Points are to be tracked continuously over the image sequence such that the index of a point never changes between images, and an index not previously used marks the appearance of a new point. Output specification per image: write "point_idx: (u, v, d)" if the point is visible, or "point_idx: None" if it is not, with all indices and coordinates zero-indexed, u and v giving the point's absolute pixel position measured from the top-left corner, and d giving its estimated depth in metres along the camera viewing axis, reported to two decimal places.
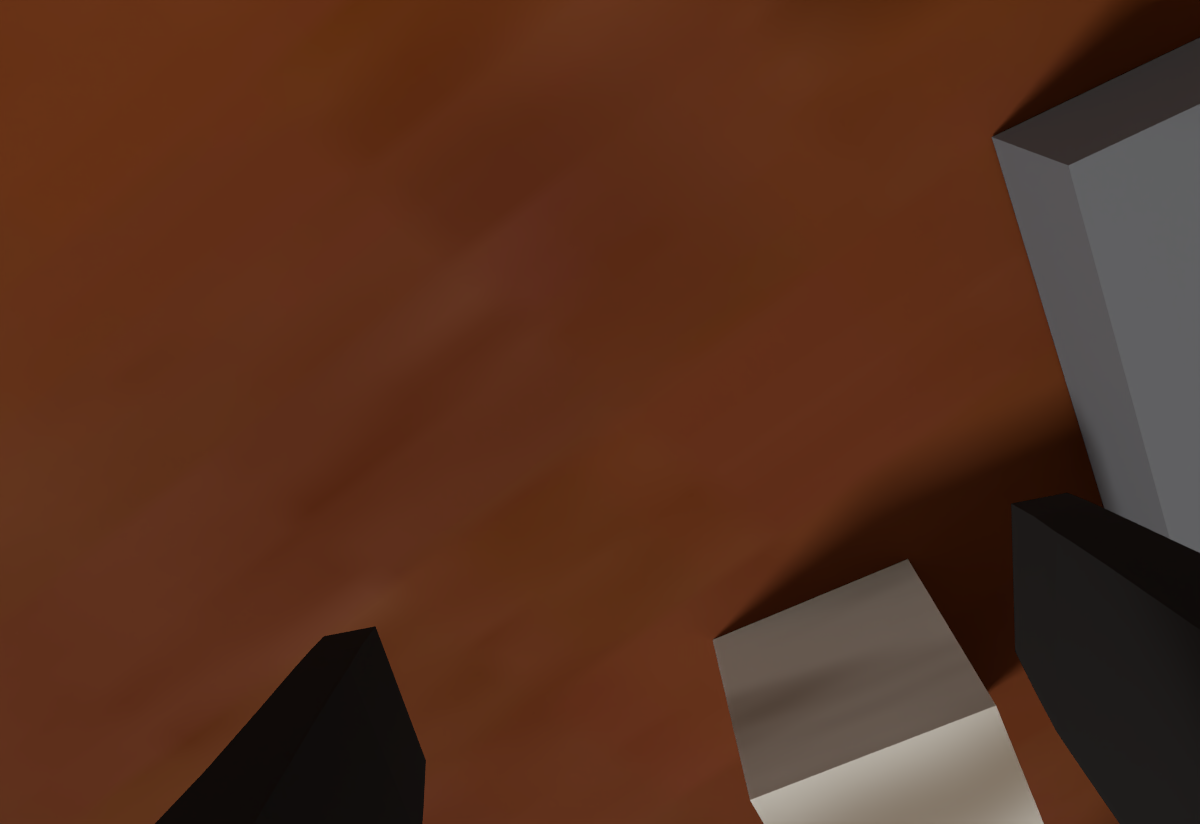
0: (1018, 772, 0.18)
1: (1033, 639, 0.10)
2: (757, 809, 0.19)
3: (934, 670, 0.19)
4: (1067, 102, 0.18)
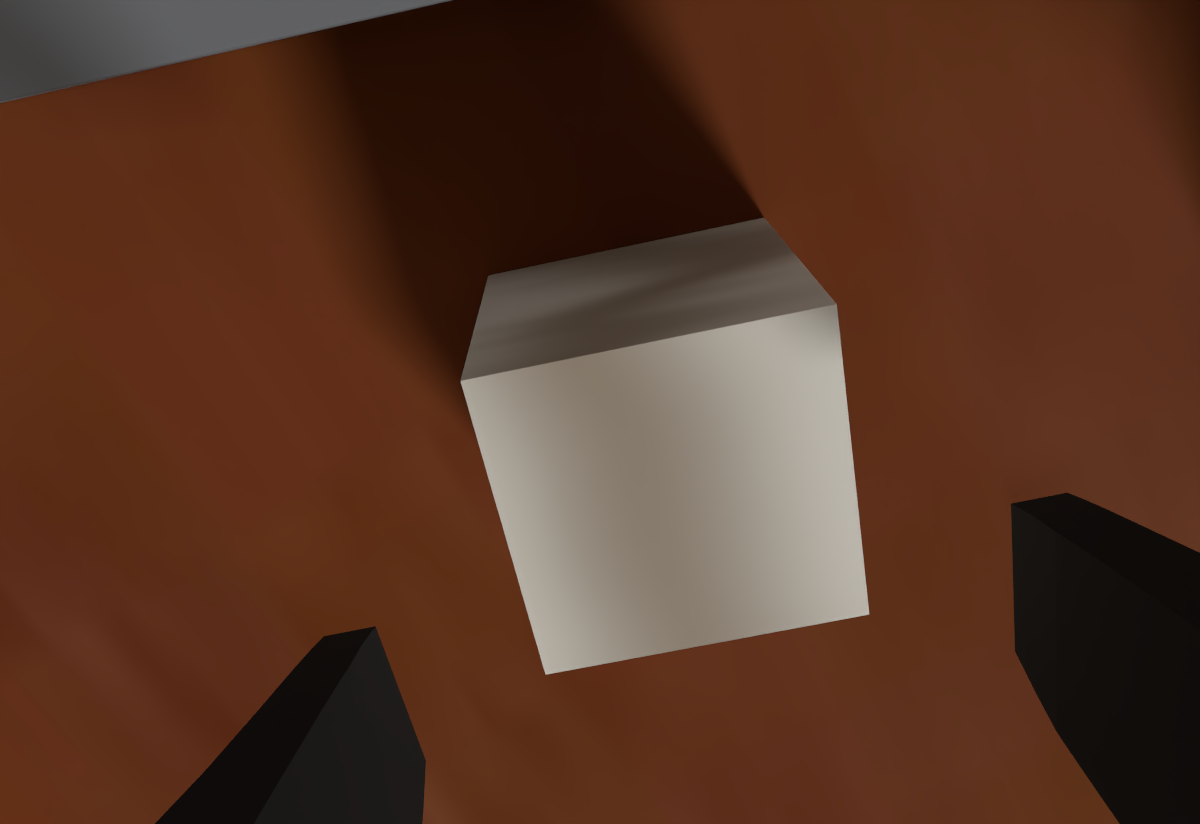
0: (601, 357, 0.12)
1: (1033, 639, 0.10)
2: (564, 669, 0.15)
3: None
4: None
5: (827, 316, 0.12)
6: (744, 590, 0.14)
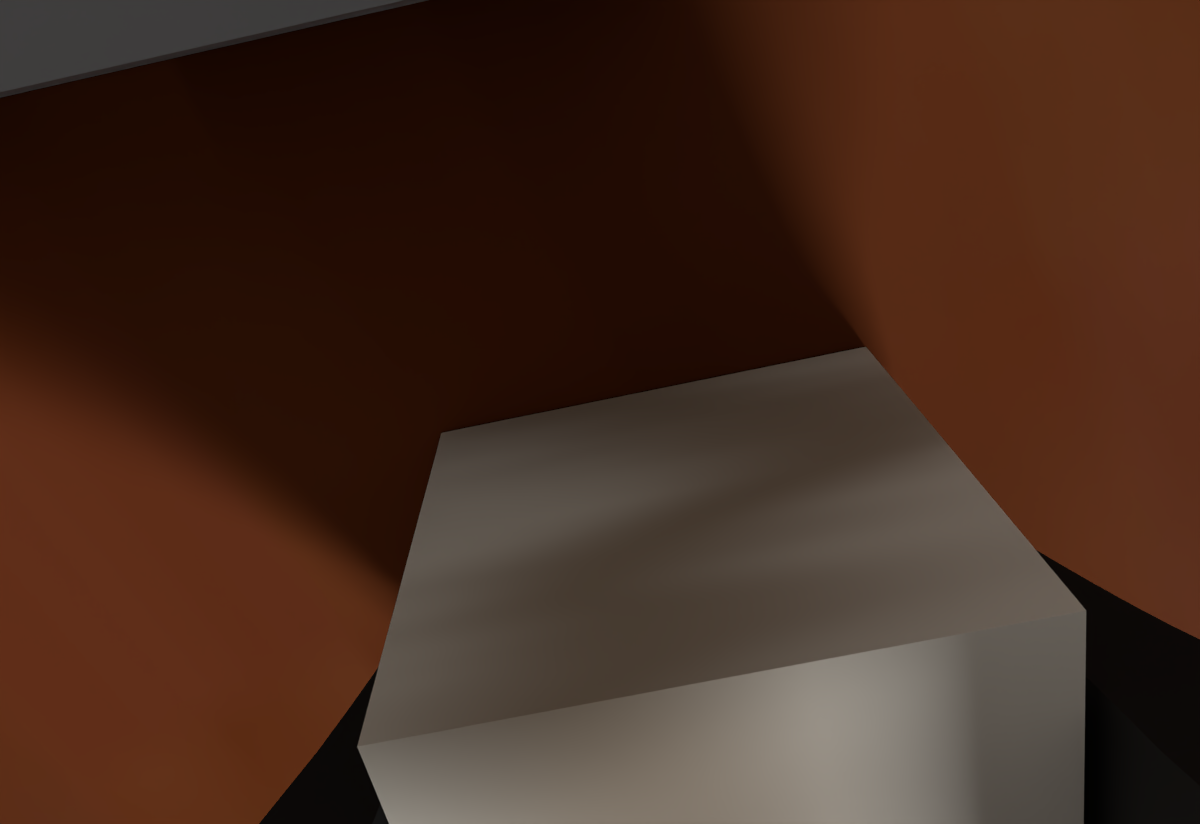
0: (627, 702, 0.06)
1: None
2: None
3: None
4: None
5: (1067, 631, 0.06)
6: None
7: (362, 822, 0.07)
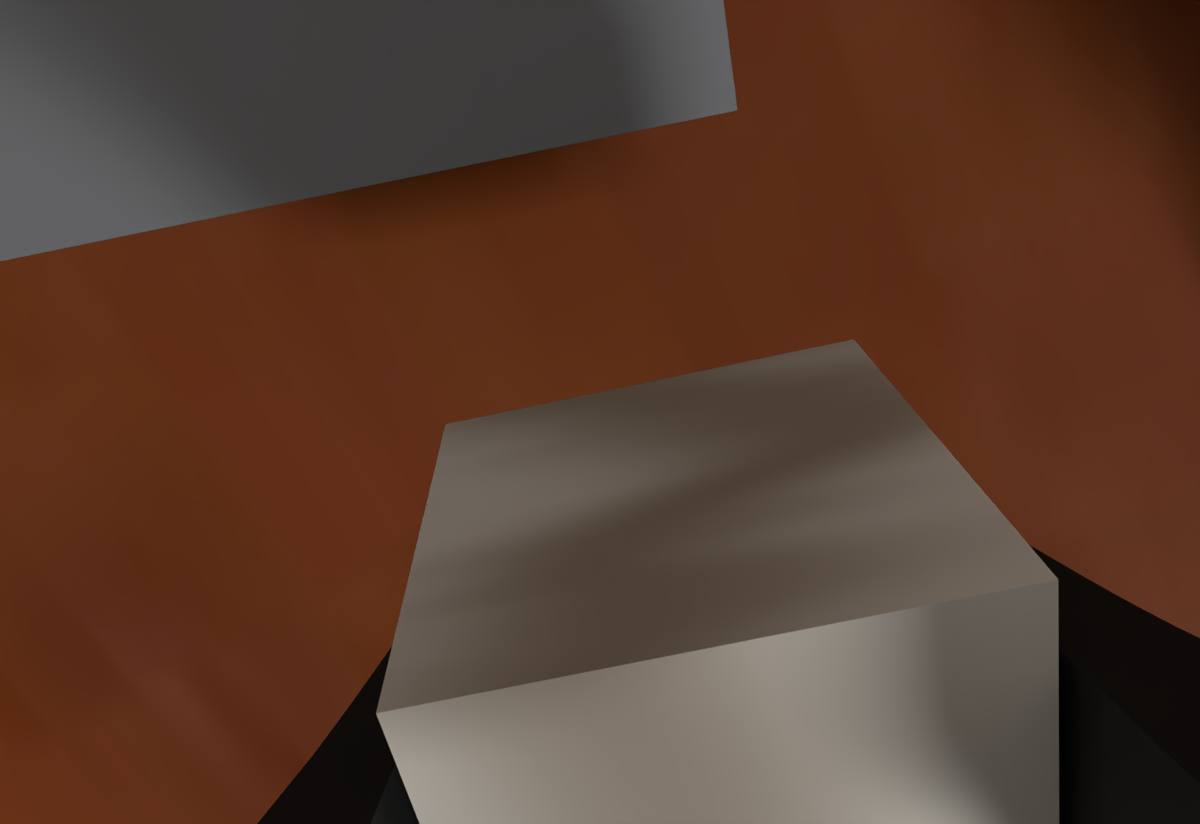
0: (630, 669, 0.07)
1: None
2: None
3: None
4: None
5: (1040, 600, 0.07)
6: None
7: (360, 823, 0.07)
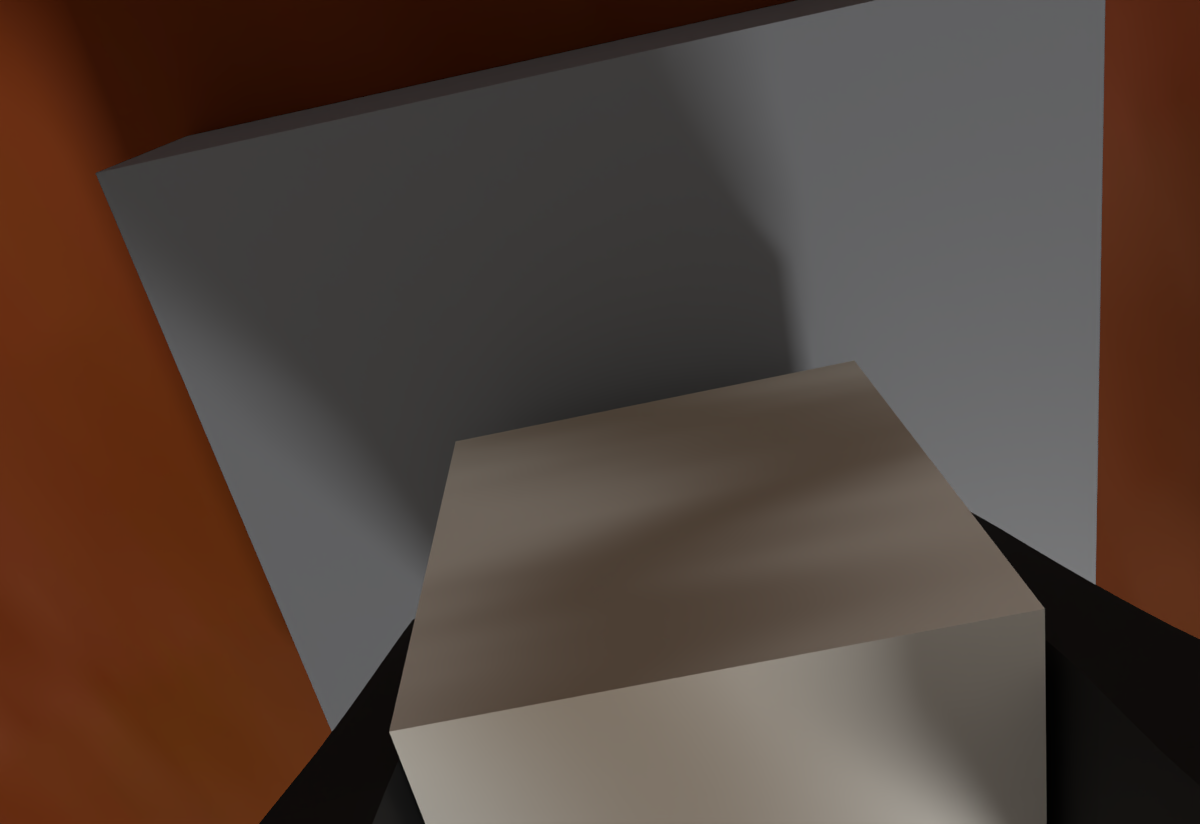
0: (632, 692, 0.07)
1: None
2: None
3: None
4: None
5: (1027, 628, 0.07)
6: None
7: (362, 822, 0.07)
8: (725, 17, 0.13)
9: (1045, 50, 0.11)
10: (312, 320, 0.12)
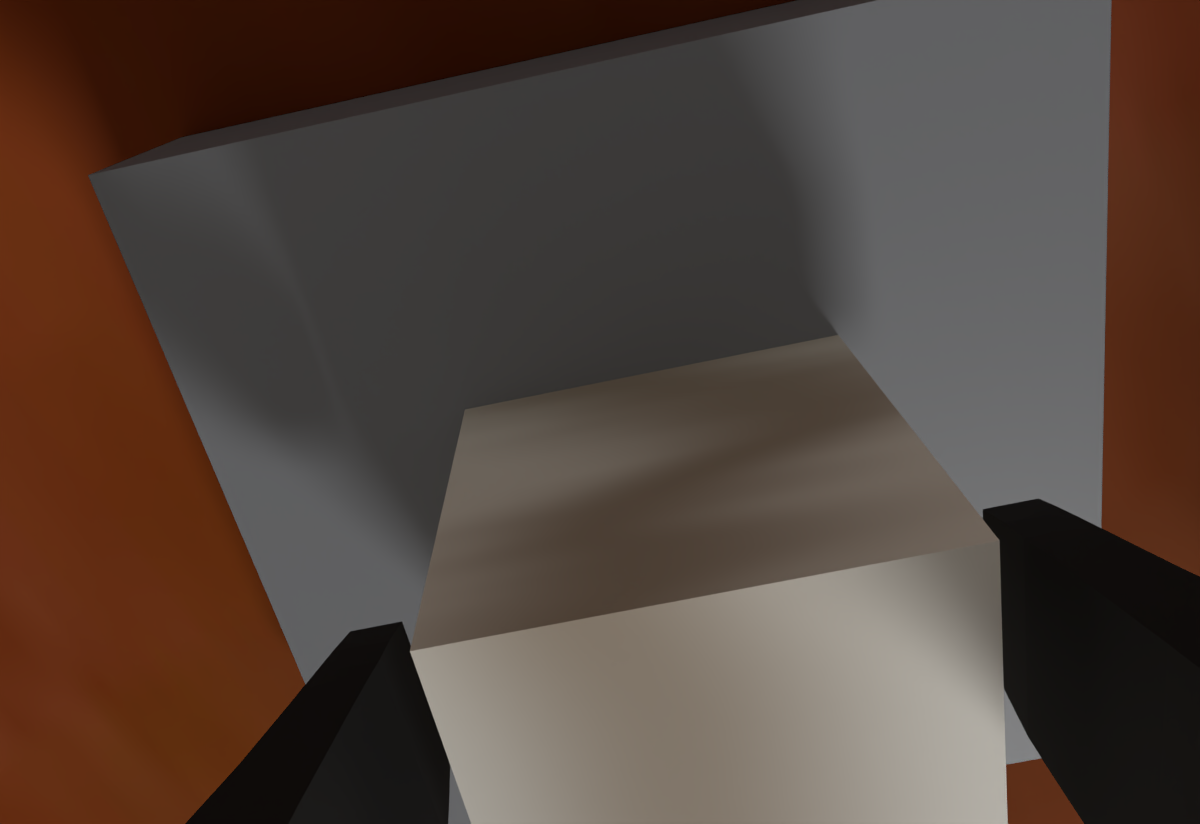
0: (629, 615, 0.08)
1: (1005, 645, 0.10)
2: None
3: None
4: None
5: (984, 557, 0.08)
6: None
7: None
8: (726, 17, 0.13)
9: (1050, 50, 0.11)
10: (308, 324, 0.12)
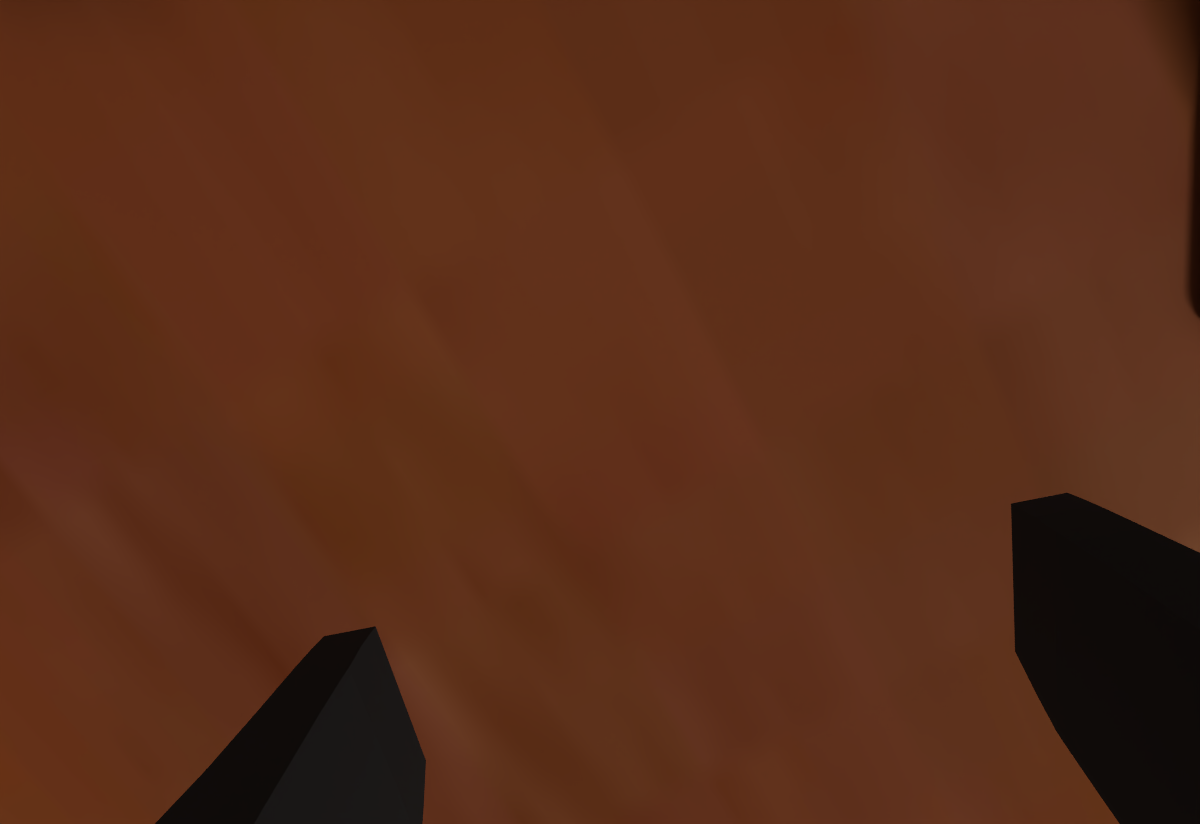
0: None
1: (1033, 639, 0.10)
2: None
3: None
4: None
5: None
6: None
7: None
8: None
9: None
10: None
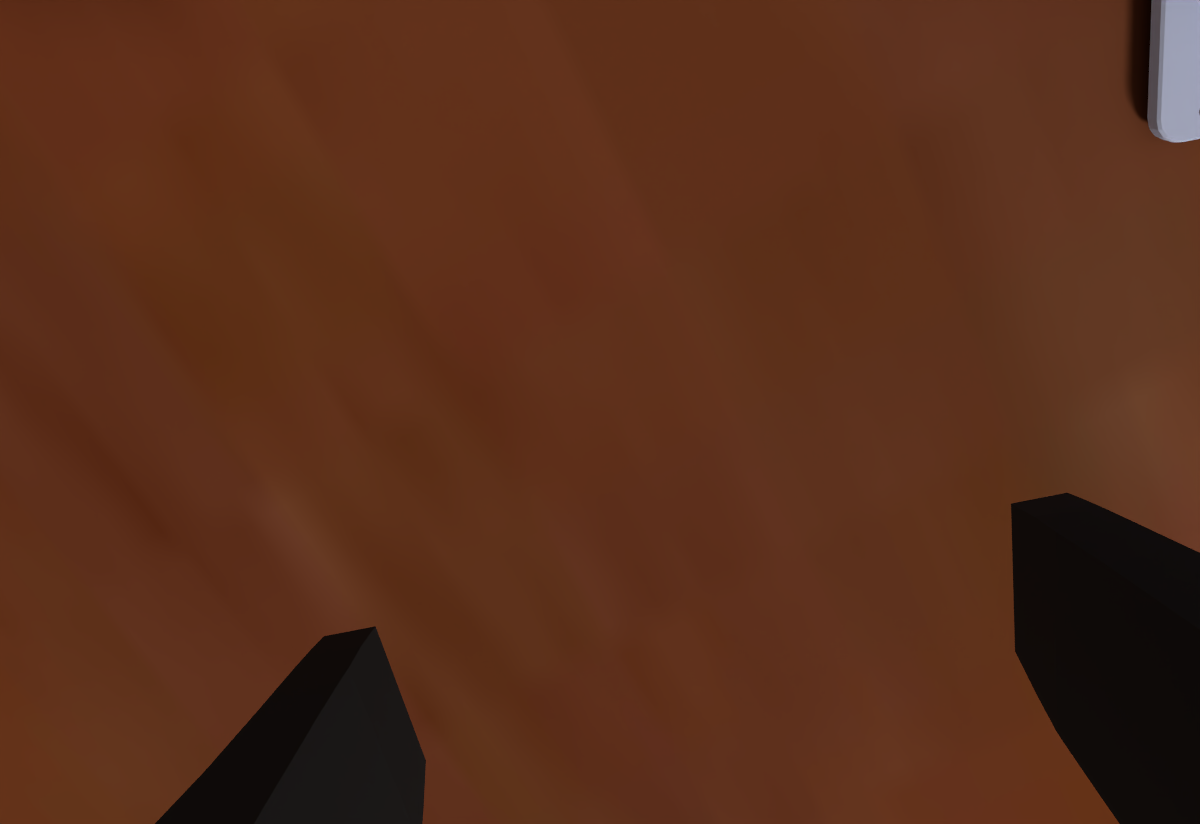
0: None
1: (1033, 639, 0.10)
2: None
3: None
4: None
5: None
6: None
7: None
8: None
9: None
10: None
